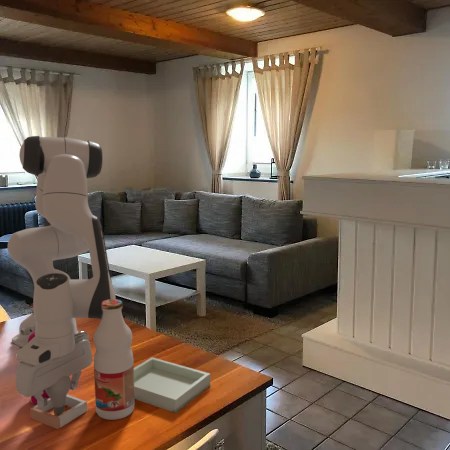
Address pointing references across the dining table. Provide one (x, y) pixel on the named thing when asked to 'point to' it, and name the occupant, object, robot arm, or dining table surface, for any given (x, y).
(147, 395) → the tray
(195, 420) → the dining table surface
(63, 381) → the lightbulb
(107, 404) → the white plastic bottle
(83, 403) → the socket collar
